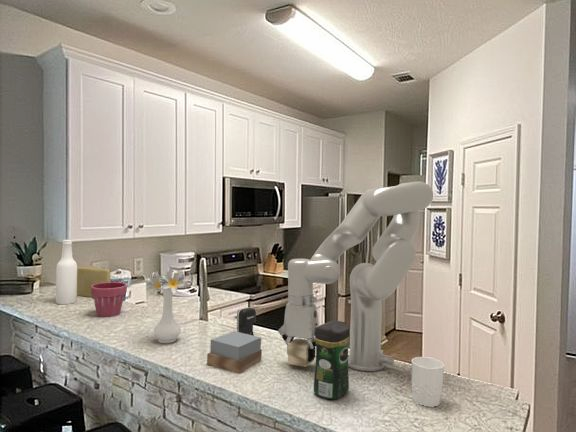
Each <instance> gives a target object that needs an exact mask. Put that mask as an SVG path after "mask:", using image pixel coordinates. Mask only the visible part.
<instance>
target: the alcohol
mask: <svg viewBox="0 0 576 432" xmlns="http://www.w3.org/2000/svg"><path fill="white" fill-rule="evenodd" d="M77 268H78V264H77V262H76V260H75V259H74V258H73V240H72V239H63V240H62V249H61V258H60V260H59V261H58V262H57V264H56V267H55V272H56V273H55V303H56V304H57V305H60V306H66V305H73V304H75V303H76V302H77V301H78V295H77Z"/></svg>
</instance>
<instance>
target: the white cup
mask: <svg viewBox="0 0 576 432" xmlns="http://www.w3.org/2000/svg"><path fill="white" fill-rule="evenodd" d="M444 369H445V363H443V361H441V360H439V359H437V358H433V357H429V356H428V357H427V356H416V357H413V358H412V359H411V389H412V401H413V402H414V401H415V402H414V403H416V404H417V403H418V404H417V405H419V404H420V405H419V406H421V405H424V406H423V407H426V406H436V407H438V406H437V405H441V403H442V402H441V401H442V400H441V399H442V392H443V383H444V371H445V370H444Z"/></svg>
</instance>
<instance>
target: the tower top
mask: <svg viewBox="0 0 576 432" xmlns="http://www.w3.org/2000/svg"><path fill="white" fill-rule="evenodd" d="M209 345H210V348H209V349H210V352H209V353H213V354H217V355H220V356H224V357H227V358H230V359H234V360H237V361H239V360H241V359H243V358H245V357H247V356H250V355H252V354H254V353H256V352H258V351H260V350H261V349H262V337H260V336H257V335H254V336H253V335H248V334H244V333H240V332H237V330H236V331H235V330H233V331H230V332H227V333H225V334H223V335H219V336H217V337H214V338H211V339H210V344H209Z"/></svg>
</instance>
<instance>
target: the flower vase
mask: <svg viewBox="0 0 576 432" xmlns="http://www.w3.org/2000/svg"><path fill="white" fill-rule="evenodd" d="M185 277H186V276H185V274H184V273H181V272H180V270H177V272H176V273H175V274H174V275H173V272H172V271H171V270H168V271H167V272H166V274H164V275H160V274H159V271H158V270H157V271H154V272H152V274H151V277H148V278H145V279H144V282H145V283H146V284H147V286H148V287H147V288H146V290H147V291H148V293H152V292H153V297H156V296H158V295H157V294H158V292H162V294H163V305H162V306H163V307H162V314H161V315H162V316H161V319H160V320H159V322H158V323H157V325H155V327H154V328H153V335H154V337H155V338H156V339H157V341H158V343H161V344H171V343H174V342H176V341H177V337H179V336H180V335H181V332H182V329H181V327H180V325H179V324H178V323H177V321H176V320H175V318H174V313H173V297H174V295H175V294H177V292H178V287H184V289H186V290H188V288H189V286H190V285H189V283H187V281H185Z"/></svg>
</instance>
